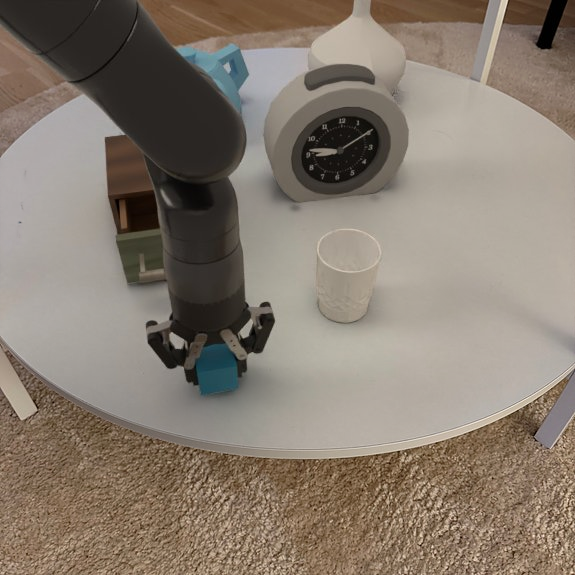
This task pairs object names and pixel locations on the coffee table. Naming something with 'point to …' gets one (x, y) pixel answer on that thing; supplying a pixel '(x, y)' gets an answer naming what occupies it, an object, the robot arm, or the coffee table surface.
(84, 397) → the coffee table surface
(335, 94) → the alarm clock
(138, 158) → the cabinet
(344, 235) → the white cup
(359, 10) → the vase
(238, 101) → the teapot
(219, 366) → the blue block
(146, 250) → the drawer
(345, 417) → the coffee table surface
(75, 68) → the robot arm
